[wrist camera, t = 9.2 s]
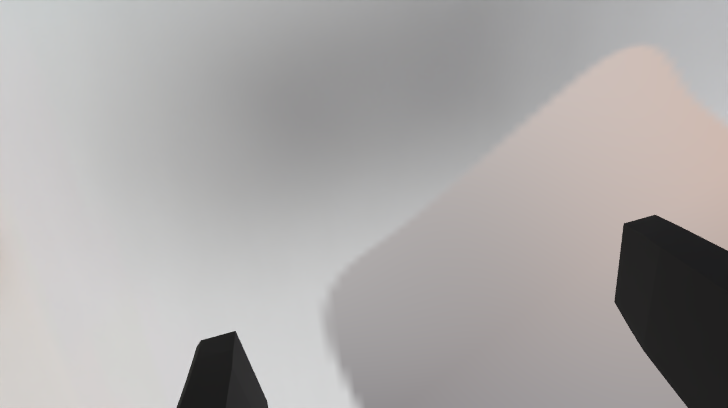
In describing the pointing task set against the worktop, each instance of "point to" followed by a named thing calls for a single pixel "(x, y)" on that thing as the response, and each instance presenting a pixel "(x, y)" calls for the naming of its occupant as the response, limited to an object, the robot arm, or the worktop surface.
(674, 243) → the robot arm
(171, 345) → the worktop surface
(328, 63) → the worktop surface
